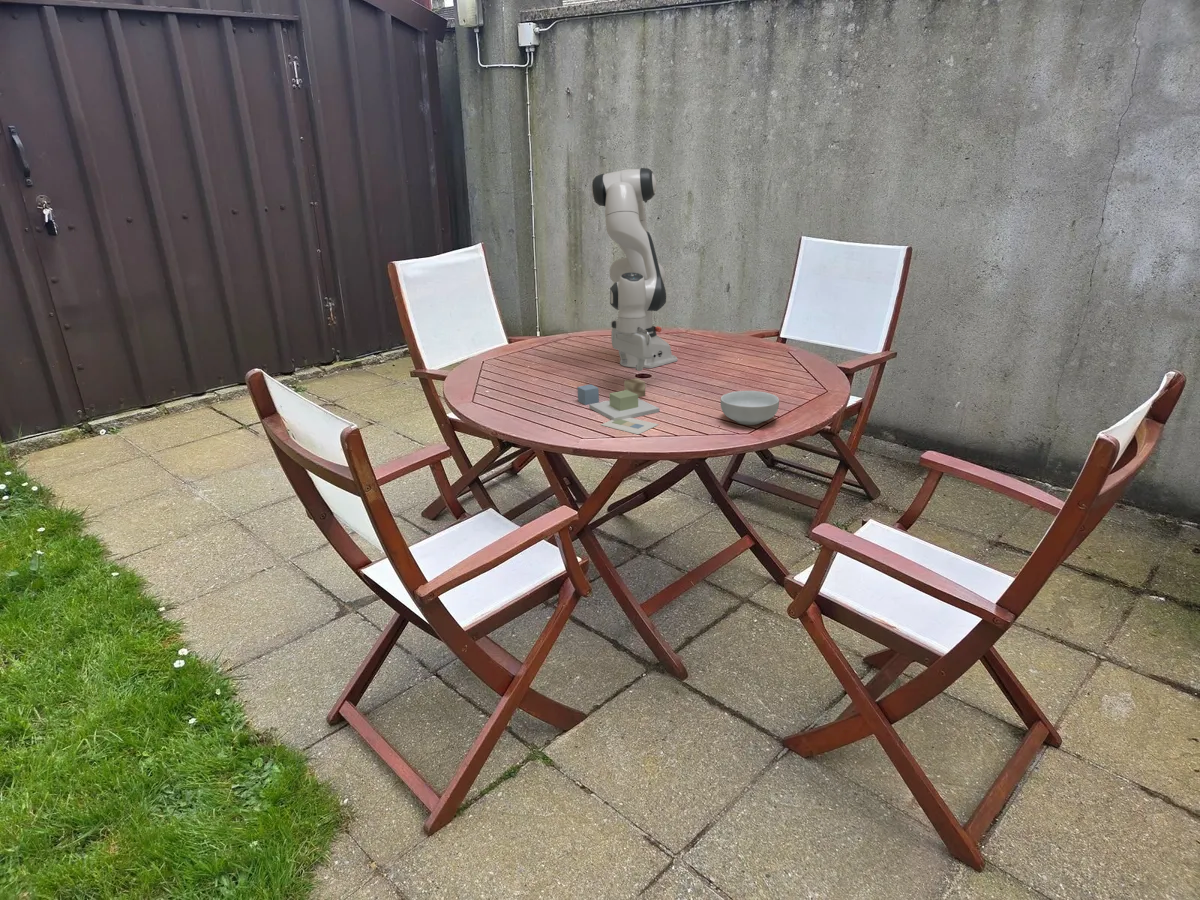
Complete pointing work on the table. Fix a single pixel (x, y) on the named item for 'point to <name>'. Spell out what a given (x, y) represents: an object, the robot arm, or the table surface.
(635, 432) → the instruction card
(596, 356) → the table surface
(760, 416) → the cereal bowl
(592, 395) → the slate blue block
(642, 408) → the build plate
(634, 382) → the beech block
